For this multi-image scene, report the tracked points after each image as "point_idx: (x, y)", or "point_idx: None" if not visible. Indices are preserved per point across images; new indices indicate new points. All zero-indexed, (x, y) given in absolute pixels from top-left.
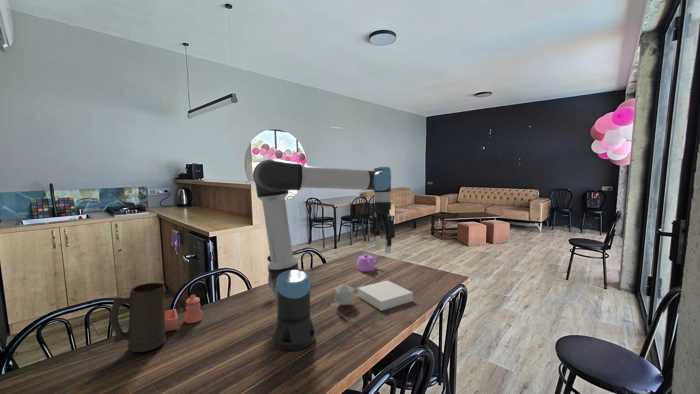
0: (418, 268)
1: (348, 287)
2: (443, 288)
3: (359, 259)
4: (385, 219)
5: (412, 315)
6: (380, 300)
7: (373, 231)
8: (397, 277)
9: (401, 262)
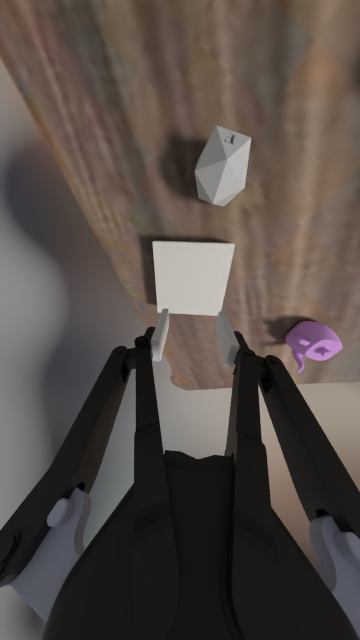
0: None
1: (212, 174)
2: (169, 357)
3: (331, 336)
4: (126, 494)
5: (123, 273)
6: (157, 243)
7: (267, 367)
8: None
9: None
